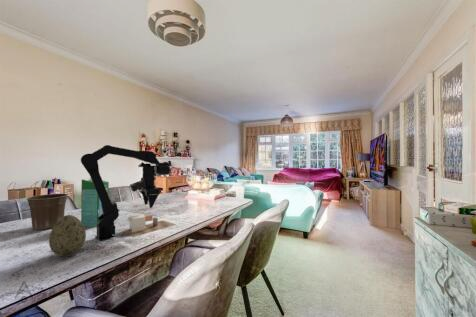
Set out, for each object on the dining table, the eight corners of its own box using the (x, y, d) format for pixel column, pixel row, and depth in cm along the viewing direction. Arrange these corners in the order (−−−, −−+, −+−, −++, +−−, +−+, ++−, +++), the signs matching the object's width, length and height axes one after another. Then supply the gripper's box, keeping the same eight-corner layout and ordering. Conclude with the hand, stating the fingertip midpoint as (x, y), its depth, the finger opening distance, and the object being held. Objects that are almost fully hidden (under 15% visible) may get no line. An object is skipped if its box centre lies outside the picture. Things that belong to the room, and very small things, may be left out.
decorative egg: (50, 253, 81) (50, 214, 81) (84, 246, 88) (85, 210, 88) (47, 265, 73) (48, 221, 72) (86, 256, 79) (86, 216, 79)
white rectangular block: (129, 232, 101) (129, 219, 101) (126, 229, 106) (126, 216, 106) (153, 228, 108) (153, 215, 108) (150, 225, 113) (150, 213, 113)
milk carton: (97, 226, 113) (98, 179, 113) (80, 226, 113) (81, 179, 113) (108, 221, 122) (108, 177, 122) (92, 221, 122) (93, 177, 122)
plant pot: (16, 232, 103) (16, 199, 103) (43, 222, 119) (44, 193, 119) (52, 231, 105) (52, 198, 105) (74, 221, 121) (74, 193, 121)
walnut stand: (133, 239, 96) (133, 228, 96) (121, 233, 103) (121, 222, 103) (176, 226, 115) (176, 217, 115) (162, 222, 122) (163, 213, 122)
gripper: (127, 175, 112) (127, 204, 112) (135, 177, 97) (135, 212, 97) (149, 174, 118) (149, 202, 118) (160, 176, 104) (160, 208, 104)
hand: (148, 206), depth 109 cm, fingers open, 9 cm apart
